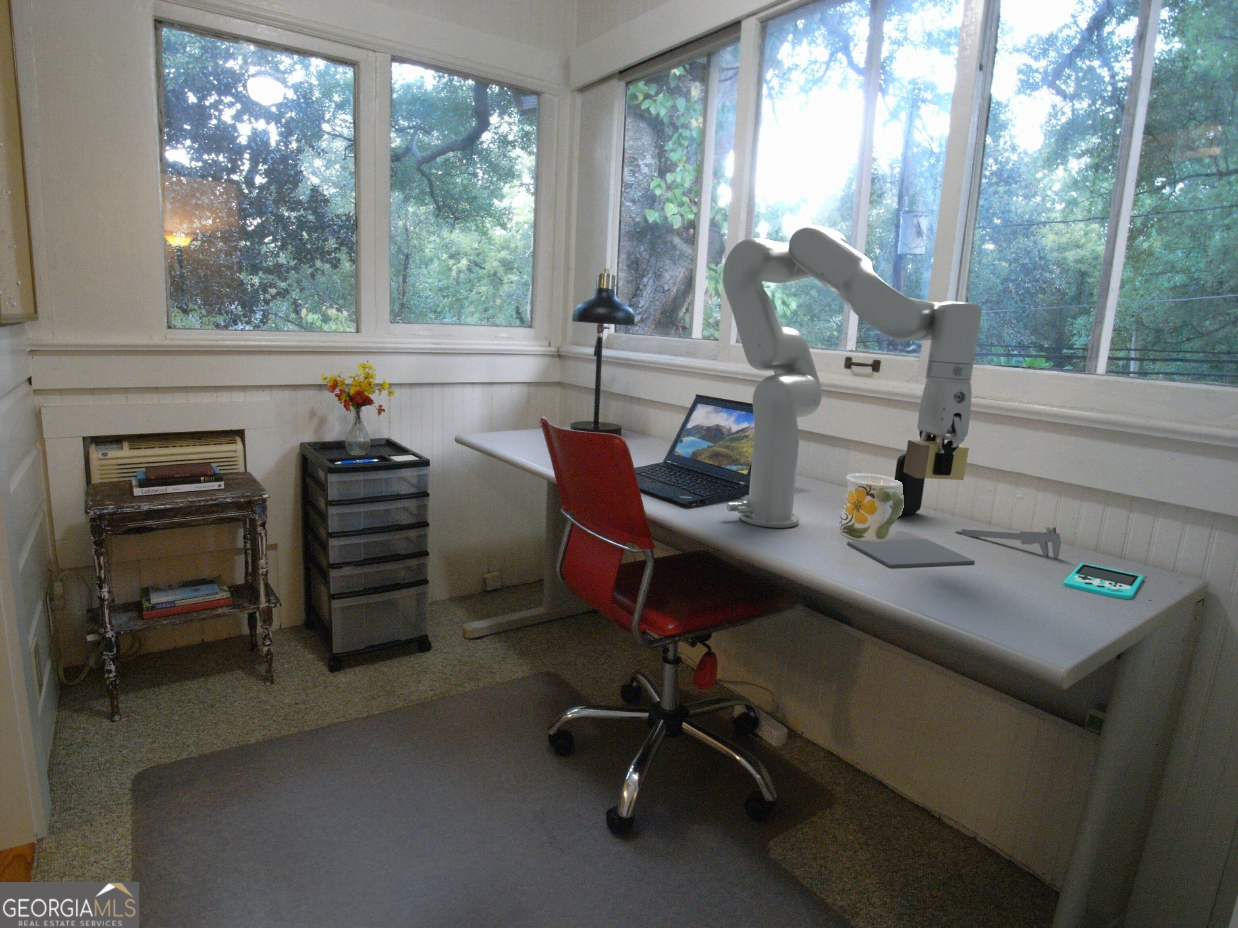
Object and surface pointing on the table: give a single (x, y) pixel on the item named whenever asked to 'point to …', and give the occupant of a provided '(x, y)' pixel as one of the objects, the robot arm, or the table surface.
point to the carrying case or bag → (909, 488)
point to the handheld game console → (1104, 581)
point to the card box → (932, 460)
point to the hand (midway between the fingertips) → (933, 470)
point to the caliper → (1022, 537)
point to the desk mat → (910, 553)
